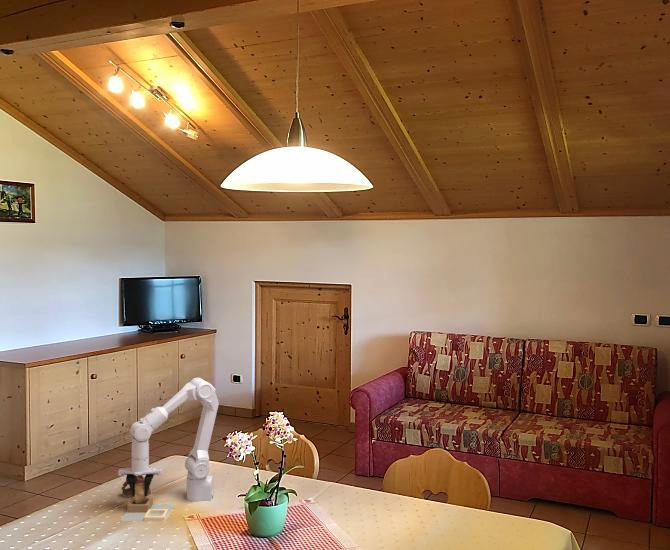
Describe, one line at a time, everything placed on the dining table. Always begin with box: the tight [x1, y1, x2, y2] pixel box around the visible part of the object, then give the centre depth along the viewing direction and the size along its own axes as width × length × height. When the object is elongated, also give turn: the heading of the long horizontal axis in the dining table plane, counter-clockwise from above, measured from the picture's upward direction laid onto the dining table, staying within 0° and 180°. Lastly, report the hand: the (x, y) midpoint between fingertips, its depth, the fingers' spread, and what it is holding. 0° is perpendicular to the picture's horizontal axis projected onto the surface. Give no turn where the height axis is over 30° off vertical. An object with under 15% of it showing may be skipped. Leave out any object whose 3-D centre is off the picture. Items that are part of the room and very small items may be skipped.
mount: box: [120, 496, 175, 522], centre depth 230 cm, size 15×14×4 cm
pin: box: [134, 480, 146, 504], centre depth 233 cm, size 4×4×7 cm
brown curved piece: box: [121, 475, 152, 497], centre depth 248 cm, size 12×10×8 cm
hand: (140, 495), depth 233 cm, fingers closed on pin, 4 cm apart
